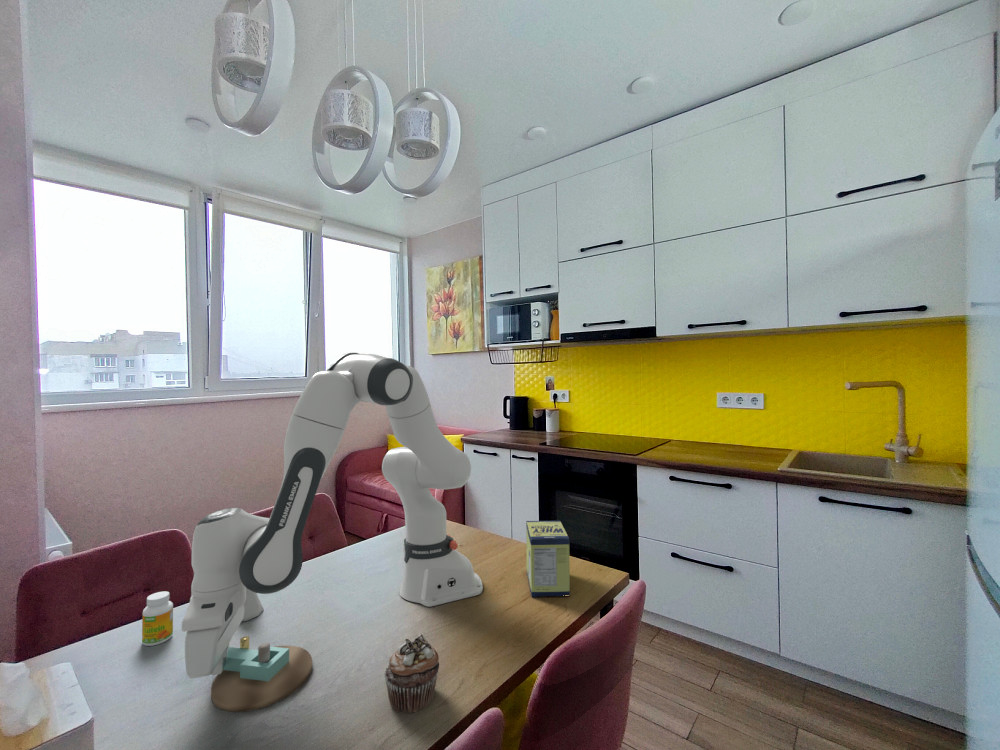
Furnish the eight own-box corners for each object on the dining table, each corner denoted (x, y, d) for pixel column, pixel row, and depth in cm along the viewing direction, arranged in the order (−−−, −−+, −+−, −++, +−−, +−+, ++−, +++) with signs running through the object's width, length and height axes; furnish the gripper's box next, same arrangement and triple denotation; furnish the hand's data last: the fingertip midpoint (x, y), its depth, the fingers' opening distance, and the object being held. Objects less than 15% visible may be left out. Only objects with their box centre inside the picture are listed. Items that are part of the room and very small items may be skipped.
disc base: (317, 645, 94) (317, 616, 94) (304, 700, 78) (305, 665, 78) (228, 659, 90) (228, 629, 90) (195, 721, 73) (195, 683, 73)
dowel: (250, 655, 89) (250, 635, 89) (247, 660, 87) (248, 640, 87) (241, 656, 88) (241, 636, 89) (239, 661, 87) (239, 641, 87)
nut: (289, 661, 87) (289, 648, 87) (268, 681, 81) (268, 667, 81) (232, 654, 89) (232, 642, 89) (207, 673, 83) (207, 660, 83)
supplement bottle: (138, 649, 93) (139, 603, 93) (145, 636, 98) (146, 592, 98) (170, 642, 96) (170, 597, 96) (175, 630, 100) (175, 587, 101)
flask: (247, 624, 103) (247, 581, 103) (221, 621, 104) (221, 579, 104) (269, 608, 110) (269, 568, 110) (244, 606, 111) (245, 566, 111)
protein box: (560, 571, 130) (560, 519, 130) (570, 597, 115) (570, 538, 115) (525, 572, 130) (525, 520, 130) (531, 598, 114) (530, 538, 115)
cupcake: (421, 671, 85) (421, 620, 86) (449, 698, 78) (448, 642, 78) (375, 695, 79) (375, 639, 79) (401, 726, 72) (400, 665, 72)
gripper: (219, 575, 92) (219, 641, 92) (177, 627, 72) (176, 712, 72) (252, 572, 94) (252, 636, 94) (220, 621, 74) (219, 704, 74)
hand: (219, 670), depth 83 cm, fingers closed
